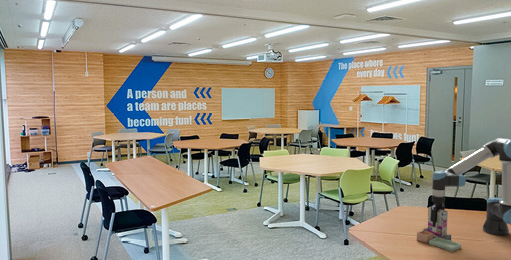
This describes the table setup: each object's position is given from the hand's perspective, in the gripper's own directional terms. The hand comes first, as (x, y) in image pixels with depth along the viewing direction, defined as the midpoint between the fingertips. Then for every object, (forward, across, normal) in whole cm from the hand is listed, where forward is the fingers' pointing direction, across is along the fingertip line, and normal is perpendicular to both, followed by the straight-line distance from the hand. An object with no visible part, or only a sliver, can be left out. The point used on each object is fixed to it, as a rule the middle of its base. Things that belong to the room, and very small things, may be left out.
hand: (437, 230), depth 253 cm
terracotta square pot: (+5, +11, -2) cm, 12 cm away
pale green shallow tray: (+5, +9, +10) cm, 14 cm away
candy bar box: (+2, 0, 0) cm, 2 cm away
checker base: (+5, 0, 0) cm, 5 cm away
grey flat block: (+3, 0, 0) cm, 3 cm away
